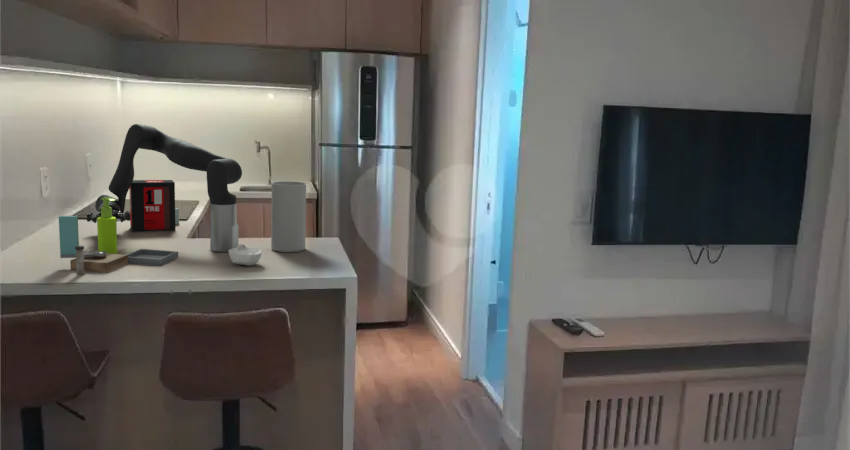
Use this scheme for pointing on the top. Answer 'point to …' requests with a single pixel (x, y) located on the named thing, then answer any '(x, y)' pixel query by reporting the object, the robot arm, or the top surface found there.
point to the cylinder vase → (288, 216)
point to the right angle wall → (176, 216)
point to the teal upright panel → (72, 238)
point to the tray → (151, 257)
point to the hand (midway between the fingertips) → (108, 219)
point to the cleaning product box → (152, 205)
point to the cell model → (245, 255)
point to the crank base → (96, 262)
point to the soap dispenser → (107, 229)
